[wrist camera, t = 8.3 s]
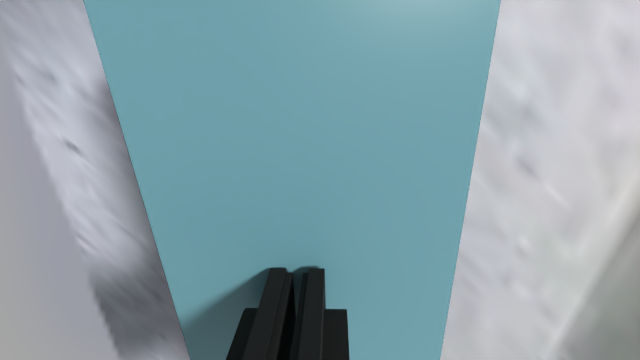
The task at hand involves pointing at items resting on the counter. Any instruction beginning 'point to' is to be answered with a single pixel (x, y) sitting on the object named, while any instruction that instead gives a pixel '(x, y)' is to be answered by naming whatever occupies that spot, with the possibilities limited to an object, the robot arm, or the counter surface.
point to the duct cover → (303, 153)
